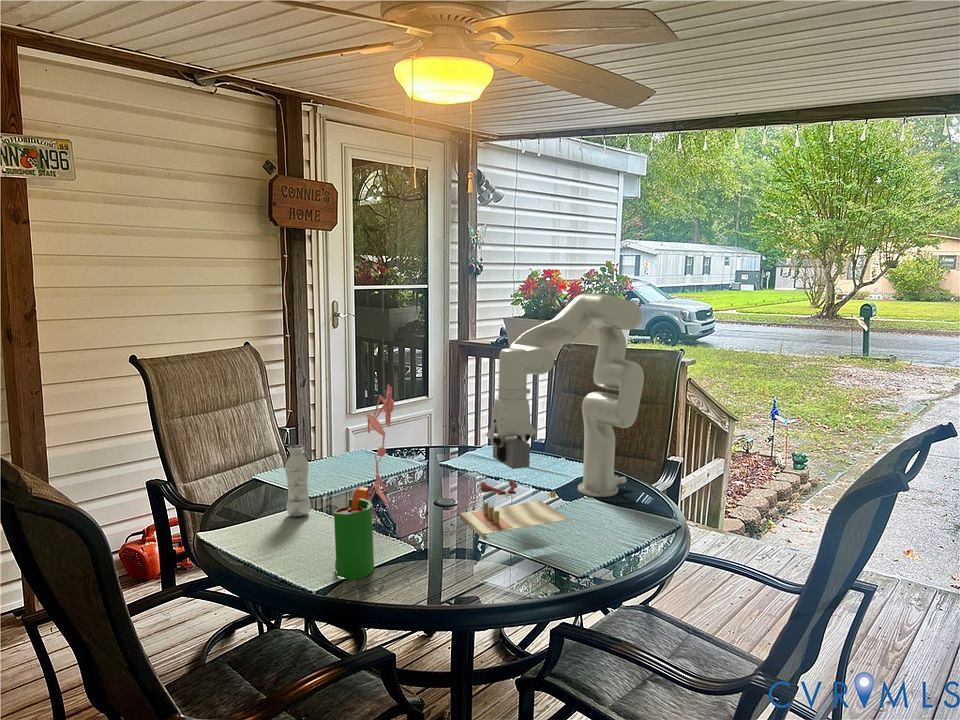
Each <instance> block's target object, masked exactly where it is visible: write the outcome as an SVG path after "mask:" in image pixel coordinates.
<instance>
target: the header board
mask: <svg viewBox="0 0 960 720" xmlns="http://www.w3.org/2000/svg"><path fill="white" fill-rule="evenodd" d="M459 519H460V520H461V521H462V522H463V523H465V524H466V526H468V527H469V528H470V529H471V530H472V531H473V532H474V533H476V534H477V535H478V536H479V537H480V538H481V539H482V540H488V539H489V537H488V536H486V535H487V534H491V533H492V534H493V533H497V532H498V533H499V532H504V531H509V530H516V529H520V528H527V527H532V526H537V525H543V524H544V525H545V524H549V523H556V522H561V521H567V520H569V517H567V516H565V515H564V514H563V513H561V512H559V511H557V510H556V509H555V508H553V507H552V506H550V505H548V504H547V503H545V502H543V501H542V500H535V501H529V502H522V503H516V504H510V505H504V506H503V505H502V506H495V507H494V506H489V502H483V509H479V510H471V511H465V512H459ZM485 534H486V535H485Z"/></svg>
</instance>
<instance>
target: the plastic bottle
mask: <svg viewBox="0 0 960 720" xmlns="http://www.w3.org/2000/svg"><path fill="white" fill-rule="evenodd" d="M304 453H305V450H304V445H299V444H297V445H291V446H289V457H288V459H286V462H285V464H284V469H285V475H286V481H287V482H286V483H287V501H286V511H287V514H288V516H290V515H291V516H290V517H292V516H301V517H303V516H302V515H305V516H307V515H308V514H309V513H310V512H311V506H312V504H311V499H310V495H309V488H308V487H309V483H308V482H309V481H308V479H309V467H310V463H309V461H308V459H307V458H306V457H305V456H304ZM306 514H307V515H306Z"/></svg>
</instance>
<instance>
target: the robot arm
mask: <svg viewBox="0 0 960 720" xmlns="http://www.w3.org/2000/svg"><path fill="white" fill-rule="evenodd" d="M642 313H643V312H642V309H641V307H640V305H638V304H637V303H636V302H634V301H632V300H628V299H624V298H621V297H617V296H613V295H609V294H605V293H604V294H601V293H600V294H597V293H581V294H579V295H577V296H576V297H575V298H574V299H572V301H570V302H569V303H568V304H567V305H566V306H565V307H564V308H563V309H561V310H560V312H559V313H557V314H556V316H554V318H552V319H551V320H548V321H545V322H544V323H541V324H540V325H537V326H535V327H531V329H528V330H527V331H525V332H524V333H522V334H521V335H520V336H518V338H516V340H514V341H513V343H511V345H510V346H509V347H508V348H503V349H501V350H500V351H499V355H498V357H499V360H498V362H499V363H498V395H497V396H498V397H497V398H494V399H495V400H494V403H493V408H492V413H491V424H490V425H491V427H490V428H489V429H488V431H487V432H486V434H485V436H486V437H487V438H488V439H490V440H491V441H492V443H493V442H494V443H495V445H497V458H498V460H500V461H502V462H504V461H505V447H504V443H505V439H506V437H508V436H514V437H516V438H518V439H521V440H523V441H525V442H527V443H528V441H530V439H531V437H533V436H534V435H535V434H536V432H537V431H536V429H535V428H534V426H533V425H532V424H531V409H530V403H529V399H528V398H527V397H528V395H529V394H531V389H530V388H528V387H527V383H528V381H527V379H528V375H538V376H539V375H545V374H547V373H549V372H550V371H551V370H552V369H553V367H554V364H555V357H554V354H553V353H552V352H551V351H550V350H549V349H547V348H551V347H552V348H553V347H558V346H559V347H560V346H563V345H567V344H570V343H572V342H574V341H575V339H577V337H579V336H580V334H582V333H583V331H584V330H585V329H587V327H589V325H590V324H592V325H593V326H594V328H595V330H596V333H597V337H598V347H597V352H596V353H597V354H596V357H595V363H594V367H593V368H594V369H593V373H592V377H593V379H592V380H593V382H594V384H595V385H596V386H598V387H600V388H604V389H606V390H607V389H608V390H614V391H618V394H615V393H614V394H613V393H610V392H603V391H592V392H589V393H588V394H586V395H585V396H584V398H583V400H582V403H581V412H582V418H583V426H584V432H583V433H584V434H583V435H584V437H583V439H584V441H583V468H582V469H583V470H582V471H583V472H582V476H583V477H582V482H580V483H579V484H578V485H577V490H578V492H579V493H581V494H582V495H585V496H589V497H595V498H603V497H604V498H607V497H612V496H615V495H617V494H618V493H619V488H618V486H617V485H619V484H625V483H627V477H626V476H618V475H615V455H616V453H615V452H616V435H615V431H614V428H613V427H616V428H621V429H627V428H630V427H631V426H633V425H634V424H635V422H636V420H637V417H638V413H639V409H640V403H641V399H642V398H641V397H642V393H643V387H644V381H645V375H644V370H643V367H642V366H641V365H640V364H639V362H635V361H633V360H626V359H625V357H626V352H627V338H626V336H625V334H624V332H623V330H624V331H632V330H635V329H636V328H638V326H640V324H641V321H642V317H643V314H642ZM494 435H497V438H496V437H495V436H494ZM498 460H497V461H498ZM500 461H499V462H500ZM502 462H501V463H502Z"/></svg>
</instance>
